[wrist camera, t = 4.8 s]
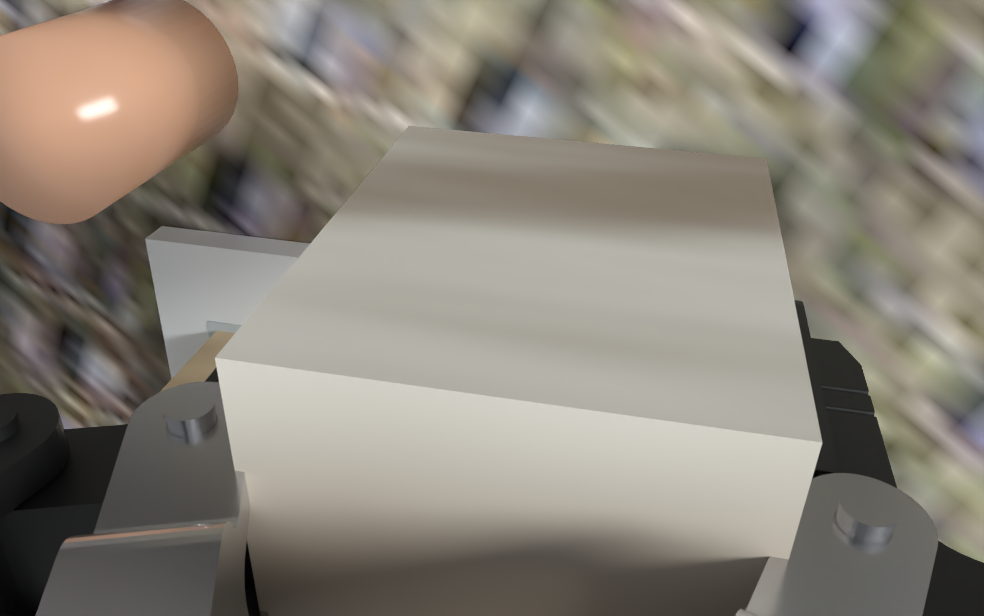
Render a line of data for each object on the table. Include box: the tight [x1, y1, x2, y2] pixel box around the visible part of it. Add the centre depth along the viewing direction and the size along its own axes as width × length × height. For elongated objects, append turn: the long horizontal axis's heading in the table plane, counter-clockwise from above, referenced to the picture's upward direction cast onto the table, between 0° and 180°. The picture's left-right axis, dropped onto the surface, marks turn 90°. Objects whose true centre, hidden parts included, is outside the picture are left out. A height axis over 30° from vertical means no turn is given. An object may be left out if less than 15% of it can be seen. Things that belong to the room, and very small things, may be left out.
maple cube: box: [215, 126, 822, 616], centre depth 11 cm, size 5×5×6 cm
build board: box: [145, 226, 310, 379], centre depth 30 cm, size 14×12×1 cm
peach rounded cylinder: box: [0, 0, 238, 224], centre depth 22 cm, size 4×4×6 cm
